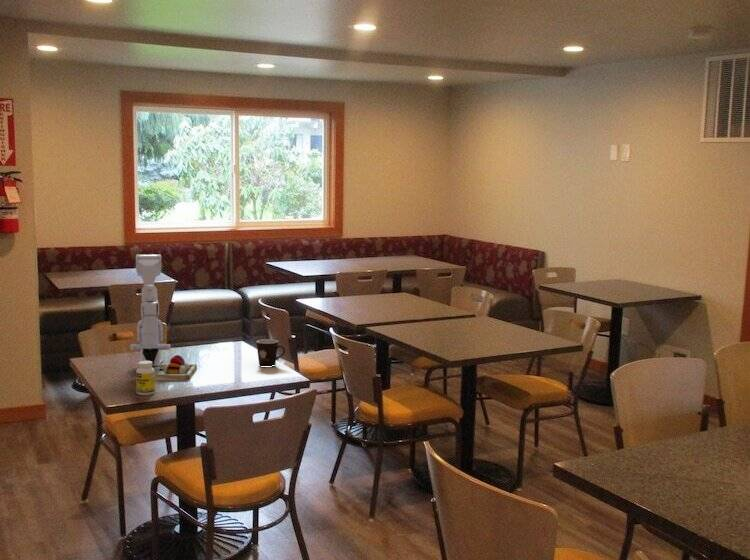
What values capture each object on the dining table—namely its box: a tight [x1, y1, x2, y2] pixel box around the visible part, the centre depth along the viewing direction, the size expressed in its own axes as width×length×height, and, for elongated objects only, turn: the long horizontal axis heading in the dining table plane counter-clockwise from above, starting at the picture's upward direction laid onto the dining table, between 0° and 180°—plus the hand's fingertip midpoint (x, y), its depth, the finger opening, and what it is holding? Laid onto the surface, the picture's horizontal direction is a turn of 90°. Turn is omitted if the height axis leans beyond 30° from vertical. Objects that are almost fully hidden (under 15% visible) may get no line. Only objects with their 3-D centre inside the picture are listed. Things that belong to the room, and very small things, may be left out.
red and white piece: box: [162, 354, 190, 374], centre depth 297 cm, size 8×10×7 cm
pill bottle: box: [135, 360, 156, 396], centre depth 270 cm, size 6×6×11 cm
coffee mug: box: [256, 338, 286, 367], centre depth 312 cm, size 12×9×10 cm
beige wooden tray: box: [155, 363, 198, 381], centre depth 296 cm, size 17×14×2 cm
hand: (150, 368), depth 295 cm, fingers closed
